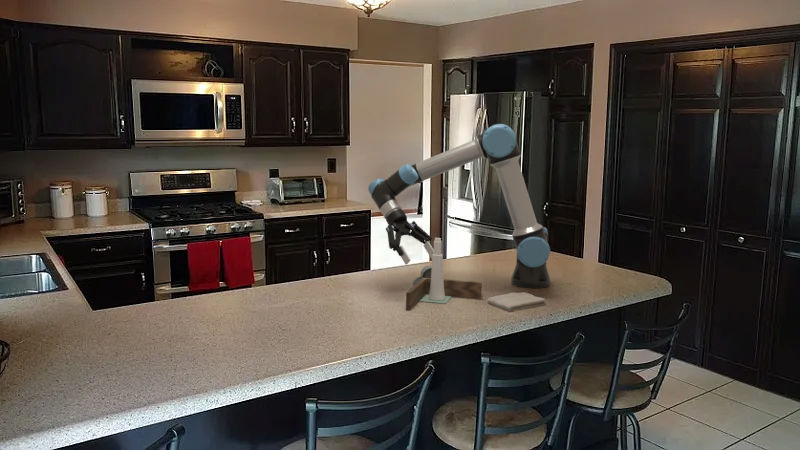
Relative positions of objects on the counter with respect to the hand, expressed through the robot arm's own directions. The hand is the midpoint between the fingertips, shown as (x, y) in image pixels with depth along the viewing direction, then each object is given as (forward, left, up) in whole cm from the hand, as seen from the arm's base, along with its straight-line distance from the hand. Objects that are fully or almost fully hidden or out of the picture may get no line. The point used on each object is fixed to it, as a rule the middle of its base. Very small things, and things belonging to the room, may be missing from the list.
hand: (421, 259), depth 223 cm
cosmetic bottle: (-7, +3, -13) cm, 15 cm away
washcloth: (-35, 0, -14) cm, 38 cm away
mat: (-6, +3, -14) cm, 15 cm away
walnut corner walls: (-11, +8, -14) cm, 19 cm away
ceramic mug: (+2, -17, -14) cm, 22 cm away
